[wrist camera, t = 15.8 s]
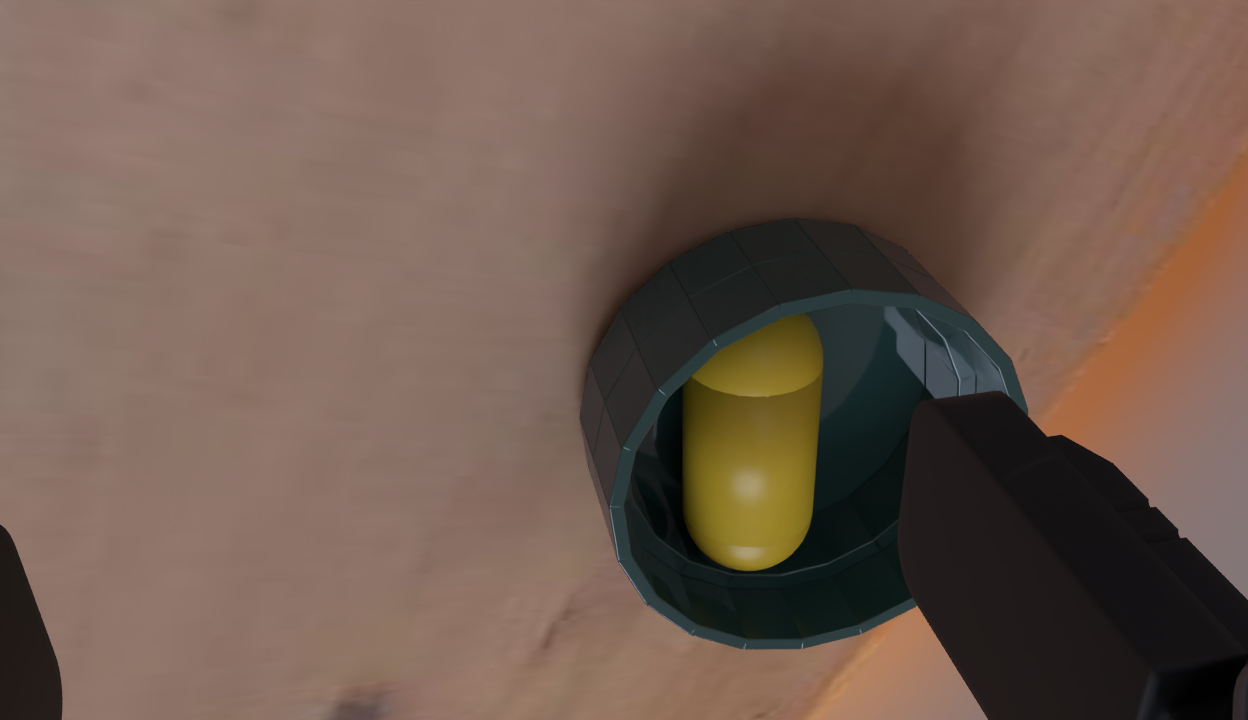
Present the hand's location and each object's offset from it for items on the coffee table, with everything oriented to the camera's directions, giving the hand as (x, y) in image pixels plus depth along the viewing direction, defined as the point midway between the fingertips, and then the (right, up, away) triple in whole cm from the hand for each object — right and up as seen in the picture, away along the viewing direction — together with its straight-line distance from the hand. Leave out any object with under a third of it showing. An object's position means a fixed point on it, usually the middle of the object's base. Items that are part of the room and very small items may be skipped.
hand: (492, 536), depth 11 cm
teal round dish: (+6, 0, +32) cm, 33 cm away
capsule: (+8, -1, +30) cm, 31 cm away
